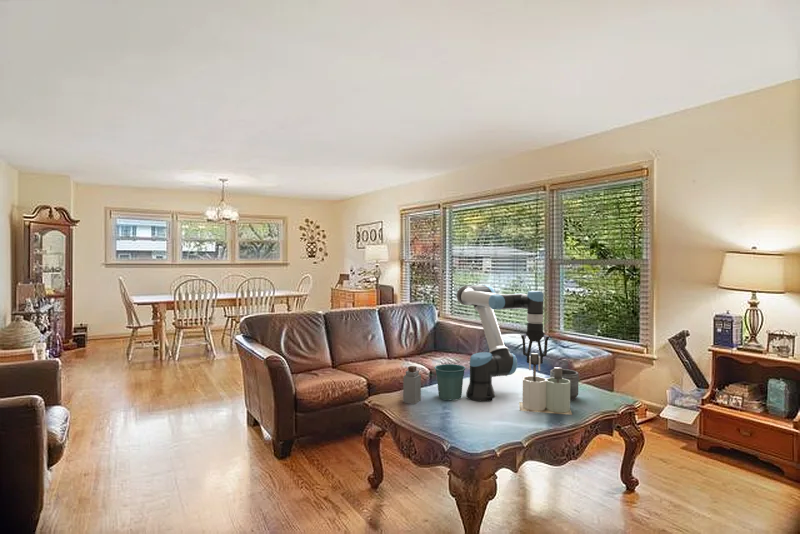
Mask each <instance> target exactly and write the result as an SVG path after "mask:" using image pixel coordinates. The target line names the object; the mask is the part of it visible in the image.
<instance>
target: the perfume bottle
mask: <svg viewBox="0 0 800 534" xmlns="http://www.w3.org/2000/svg"><path fill="white" fill-rule="evenodd" d="M419 373H420V371H419V370H418V369H417V366H415V365H410V366H408V368H407V370H405V374H404V375H403V380H402V381H403V383H402V384H403V386H402V387H403V393H402V394H403V396H402V398H403V400H402V402H403V403H405V404H413V405H416V404H417V403H419V402H421V401H422V399H421V398H422V375H421V374H419Z"/></svg>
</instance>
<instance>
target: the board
mask: <svg viewBox="0 0 800 534" xmlns="http://www.w3.org/2000/svg"><path fill="white" fill-rule="evenodd" d="M518 405H519V406H518V407H519V411H520V412H533V413H545V414H555V415H556V414H557V415H558V414H559V415H570V416H573V413H572V411H571V409H570V411H569V412H566V413H557V412H552V411H549V410H547V409H545V410H542V411H532V410H527V409H525V408H523V401H519V404H518Z"/></svg>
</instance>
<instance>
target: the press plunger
mask: <svg viewBox="0 0 800 534" xmlns="http://www.w3.org/2000/svg"><path fill="white" fill-rule="evenodd" d="M530 356H531V366H533V368H532V370H533V371H532V376H533V381H534V382H536V376H537V371H536V370H537V366H538V364H539V356H540V353H536V352H530Z"/></svg>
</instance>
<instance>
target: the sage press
mask: <svg viewBox="0 0 800 534" xmlns="http://www.w3.org/2000/svg"><path fill="white" fill-rule="evenodd" d="M553 369H554V378H553V377H552V378H550V377H547V378H545V379H546V409H547V410H549V411H552V412H557V413H566V412H569V411H570V410H571V401H570V380H567V379H563V378H562V369H563V368H562V367H558V366H556V367H555V366H554V368H553Z"/></svg>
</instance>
